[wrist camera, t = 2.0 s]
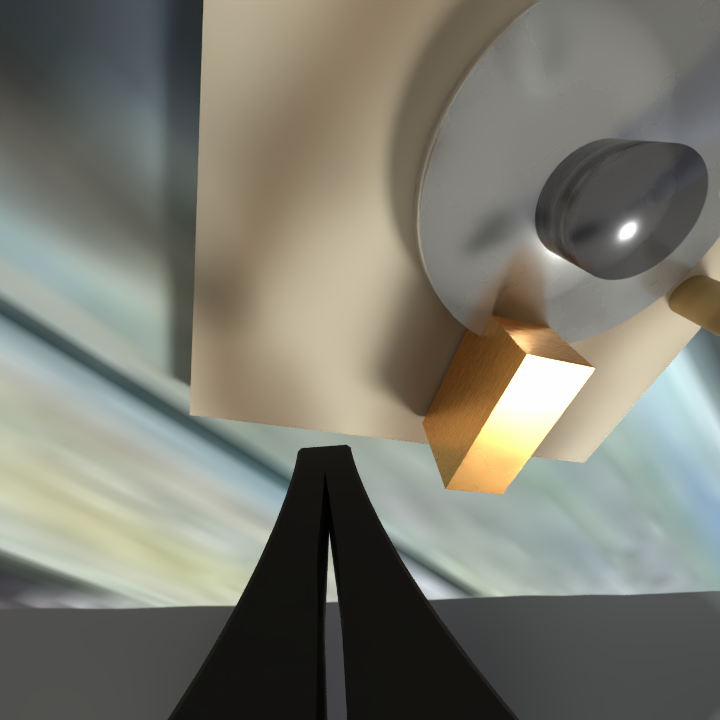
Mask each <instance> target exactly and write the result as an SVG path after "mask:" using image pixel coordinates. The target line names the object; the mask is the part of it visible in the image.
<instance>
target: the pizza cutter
mask: <svg viewBox="0 0 720 720" xmlns="http://www.w3.org/2000/svg"><path fill="white" fill-rule="evenodd" d="M413 227H414V237H415V244H416V248H417V252H418V256H419V260H420V263H421V265H422V268H423V270H424V273H425V275H426V278H427V279H428V281H429V283H430V284H431V286H432V288H433V290H434V291H435V293H436V294H437V296H438V297H439V299H440V300H441V301H442V303H443V304H444V305H445V307H446V308H447V309H448V310H449V312H450V313H451V314H452V315H453V316H454V317H455V318H456V319H457V320H458V321H459V322H460V323H461V324H463V325H464V326H465V327H466V328H468V329H467V331H466V333H465V335H464V338H463V340H462V342H461V344H460V346H459V348H458V350H457V352H456V354H455V356H454V358H453V360H452V362H451V364H450V366H449V369H448V371H447V373H446V375H445V377H444V379H443V381H442V383H441V385H440V387H439V389H438V391H437V393H436V395H435V397H434V400H433V402H432V404H431V406H430V408H429V410H428V412H427V414H426V416H425V418H424V420H423V422H422V424H423V427H424V430H425V432H426V435H427V438H428V441H429V444H430V447H431V449H432V452H433V455H434V458H435V461H436V463H437V466H438V469H439V472H440V475H441V477H442V480H443V483H444V486H445V489H450V490H461V491H472V492H483V493H494V494H503V492H504V491H505V490H506V488H507V487H508V486H509V484H510V483H511V482H512V480H513V479H514V478H515V476H516V475H517V474H518V472H519V471H520V469H521V468H522V467H523V465H524V464H525V463H526V461H527V460H528V459H529V457H530V456H531V455H532V453H533V452H534V451H535V449H536V448H537V447H538V445H539V444H540V442H541V441H542V440H543V438H544V437H545V436H546V434H547V433H548V432H549V430H550V429H551V428H552V426H553V425H554V424H555V422H556V421H557V420H558V418H559V417H560V415H561V414H562V413H563V411H564V410H565V409H566V407H567V406H568V405H569V403H570V402H571V401H572V399H573V398H574V397H575V395H576V394H577V393H578V391H579V390H580V388H581V387H582V386H583V384H584V383H585V382H586V380H587V379H588V378H589V376H590V375H591V374H592V372H593V371H594V370H595V367H594V366H592V365H591V364H590V363H589V362H588V361H587V360H586V359H585V358H583V357H582V356H581V355H580V354H579V353H578V352H577V351H576V350H574V349H573V348H572V347H571V346H570V345H569V344H570V343H575V342H578V341H581V340H584V339H587V338H590V337H593V336H596V335H598V334H600V333H603V332H605V331H607V330H610V329H612V328H614V327H616V326H618V325H619V324H621V323H623V322H625V321H627V320H629V319H630V318H632V317H634V316H635V315H637V314H638V313H640V312H641V311H643V310H645V309H646V308H648V307H649V306H650V305H651V304H653V303H654V302H655V301H657V300H658V299H659V298H661V297H662V296H663V295H665V294H666V293H667V292H668V291H669V290H670V289H672V288H673V287H674V286H675V285H676V284H677V283H678V282H679V281H681V280H682V279H683V278H684V277H685V276H686V275H687V274H688V273H689V272H690V271H691V270H692V268H693V267H694V266H695V265H696V264H697V263H698V262H699V261H700V260H701V259H702V258H703V256H704V255H705V254H706V253H707V252H708V250H709V249H710V248H711V247H712V246H713V245H714V243H715V242H716V241H717V239H718V238H719V236H720V0H536V1H535V2H533V3H531V4H530V5H529V6H527V7H526V8H525V9H523V10H522V11H521V12H520V13H518V14H517V15H516V16H514V17H513V18H512V19H511V20H509V21H508V22H507V23H505V24H504V25H503V26H502V27H501V28H500V29H499V30H498V31H497V32H496V33H495V34H494V35H493V36H492V37H491V38H490V39H489V40H488V41H487V42H486V43H485V44H484V45H483V46H482V48H481V49H480V50H479V51H478V53H477V54H476V55H475V56H474V57H473V59H472V60H471V61H470V62H469V64H468V65H467V66H466V67H465V69H464V70H463V71H462V73H461V74H460V76H459V77H458V79H457V81H456V82H455V84H454V85H453V87H452V88H451V90H450V91H449V93H448V95H447V96H446V98H445V100H444V102H443V104H442V106H441V108H440V110H439V112H438V114H437V116H436V118H435V120H434V122H433V124H432V127H431V130H430V132H429V135H428V138H427V140H426V143H425V145H424V148H423V152H422V156H421V159H420V163H419V167H418V171H417V176H416V183H415V190H414V197H413Z"/></svg>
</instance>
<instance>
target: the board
mask: <svg viewBox="0 0 720 720" xmlns="http://www.w3.org/2000/svg"><path fill="white" fill-rule="evenodd" d="M535 1H536V0H204V3H203V33H202V62H201V92H200V122H199V152H198V182H197V212H196V241H195V271H194V301H193V331H192V361H191V391H190V415H195V416H204V417H212V418H220V419H228V420H236V421H245V422H253V423H261V424H269V425H277V426H286V427H294V428H302V429H310V430H319V431H327V432H335V433H343V434H351V435H360V436H368V437H376V438H384V439H392V440H401V441H409V442H417V443H425V444H429V441H428V438H427V435H426V432H425V430H424V427H423V424H422V422H423V420H424V418H425V416H426V414H427V412H428V410H429V408H430V406H431V404H432V402H433V400H434V397H435V395H436V393H437V391H438V389H439V387H440V385H441V383H442V381H443V379H444V377H445V375H446V373H447V371H448V369H449V366H450V364H451V362H452V360H453V358H454V356H455V354H456V352H457V350H458V348H459V346H460V344H461V342H462V340H463V338H464V335H465V333H466V331H467V329H468V328H466V327H465V326H464V325H463V324H461V323H460V322H459V321H458V320H457V319H456V318H455V317H454V316H453V315H452V314H451V313H450V312H449V310H448V309H447V308H446V307H445V305H444V304H443V303H442V301H441V300H440V299H439V297H438V296H437V294H436V293H435V291H434V290H433V288H432V286H431V284H430V283H429V281H428V279H427V278H426V275H425V273H424V270H423V268H422V265H421V263H420V260H419V256H418V252H417V248H416V244H415V237H414V227H413V197H414V190H415V183H416V176H417V171H418V167H419V163H420V159H421V156H422V152H423V148H424V145H425V143H426V140H427V138H428V135H429V132H430V130H431V127H432V124H433V122H434V120H435V118H436V116H437V114H438V112H439V110H440V108H441V106H442V104H443V102H444V100H445V98H446V96H447V95H448V93H449V91H450V90H451V88H452V87H453V85H454V84H455V82H456V81H457V79H458V77H459V76H460V74H461V73H462V71H463V70H464V69H465V67H466V66H467V65H468V64H469V62H470V61H471V60H472V59H473V57H474V56H475V55H476V54H477V53H478V51H479V50H480V49H481V48H482V46H483V45H484V44H485V43H486V42H487V41H488V40H489V39H490V38H491V37H492V36H493V35H494V34H495V33H496V32H497V31H498V30H499V29H500V28H501V27H502V26H503V25H504V24H505V23H507V22H508V21H509V20H511V19H512V18H513V17H514V16H516V15H517V14H518V13H520V12H521V11H522V10H523V9H525V8H526V7H527V6H529V5H530V4H531V3H533V2H535ZM701 327H703V328H705V329H706V330H708V331H710V332H712V333H714V334H716V335H717V336H719V337H720V236H719V238H718V239H717V241H716V242H715V243H714V245H713V246H712V247H711V248H710V249H709V250H708V252H707V253H706V254H705V255H704V256H703V258H702V259H701V260H700V261H699V262H698V263H697V264H696V265H695V266H694V267H693V268H692V270H691V271H690V272H689V273H688V274H687V275H686V276H685V277H684V278H683V279H682V280H681V281H679V282H678V283H677V284H676V285H675V286H674V287H673V288H672V289H670V290H669V291H668V292H667V293H666V294H665V295H663V296H662V297H661V298H659V299H658V300H657V301H655V302H654V303H653V304H651V305H650V306H649V307H648V308H646V309H645V310H643V311H641V312H640V313H638V314H637V315H635V316H634V317H632V318H630V319H629V320H627V321H625V322H623V323H621V324H619V325H618V326H616V327H614V328H612V329H610V330H607V331H605V332H603V333H600V334H598V335H596V336H593V337H590V338H587V339H584V340H581V341H578V342H575V343H570V344H569V345H570V346H571V347H572V348H573V349H574V350H576V351H577V352H578V353H579V354H580V355H581V356H582V357H583V358H585V359H586V360H587V361H588V362H589V363H590V364H591V365H592V366H594V367H595V370H594V371H593V372H592V374H591V375H590V376H589V378H588V379H587V380H586V382H585V383H584V384H583V386H582V387H581V388H580V390H579V391H578V393H577V394H576V395H575V397H574V398H573V399H572V401H571V402H570V403H569V405H568V406H567V407H566V409H565V410H564V411H563V413H562V414H561V415H560V417H559V418H558V420H557V421H556V422H555V424H554V425H553V426H552V428H551V429H550V430H549V432H548V433H547V434H546V436H545V437H544V438H543V440H542V441H541V442H540V444H539V445H538V447H537V448H536V449H535V451H534V452H533V453H532V455H531V456H532V457H540V458H549V459H557V460H565V461H573V462H581V463H584V462H585V461H586V460H587V459H588V458H589V457H590V455H591V454H592V453H593V452H594V451H595V450H596V448H597V447H598V446H599V445H600V444H601V443H602V442H603V440H604V439H605V438H606V437H607V436H608V435H609V433H610V432H611V431H612V430H613V429H614V428H615V427H616V425H617V424H618V423H619V422H620V421H621V420H622V418H623V417H624V416H625V415H626V414H627V413H628V411H629V410H630V409H631V408H632V407H633V406H634V405H635V403H636V402H637V401H638V400H639V399H640V398H641V396H642V395H643V394H644V393H645V392H646V391H647V389H648V388H649V387H650V386H651V385H652V384H653V383H654V381H655V380H656V379H657V378H658V377H659V376H660V374H661V373H662V372H663V371H664V370H665V369H666V367H667V366H668V365H669V364H670V363H671V362H672V361H673V359H674V358H675V357H676V356H677V355H678V354H679V352H680V351H681V350H682V349H683V348H684V347H685V345H686V344H687V343H688V342H689V341H690V340H691V339H692V337H693V336H694V335H695V334H696V333H697V332H698V330H699V329H700V328H701Z"/></svg>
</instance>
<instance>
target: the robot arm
mask: <svg viewBox="0 0 720 720" xmlns="http://www.w3.org/2000/svg"><path fill="white" fill-rule="evenodd" d="M329 534H330V541H331V549H332V557H333V564H334V572H335V579H336V587H337V595H338V602H339V609H340V617H341V626H342V637H343V652H344V671H345V688H346V704H347V705H346V706H347V720H519V719H518V718H517V716H516V715H515V714H514V713H513V712H512V710H511V709H510V708H509V707H508V706H507V704H506V703H505V702H504V701H503V700H502V698H501V697H500V696H499V695H498V694H497V692H496V691H495V690H494V689H493V687H492V686H491V685H490V683H489V682H488V681H487V680H486V678H485V677H484V676H483V675H482V673H481V672H480V671H479V670H478V668H477V667H476V666H475V665H474V664H473V662H472V661H471V659H470V658H469V657H468V655H467V654H466V653H465V651H464V650H463V649H462V647H461V646H460V645H459V643H458V642H457V640H456V639H455V638H454V636H453V635H452V634H451V633H450V631H449V630H448V629H447V627H446V626H445V624H444V623H443V622H442V620H441V619H440V617H439V616H438V615H437V613H436V612H435V610H434V609H433V607H432V606H431V605H430V603H429V601H428V600H427V599H426V597H425V596H424V594H423V593H422V591H421V590H420V588H419V587H418V585H417V583H416V582H415V580H414V579H413V577H412V576H411V574H410V573H409V571H408V569H407V568H406V566H405V564H404V563H403V561H402V560H401V558H400V556H399V554H398V553H397V551H396V549H395V548H394V546H393V544H392V542H391V540H390V539H389V537H388V535H387V533H386V531H385V530H384V528H383V526H382V524H381V522H380V520H379V518H378V516H377V514H376V512H375V510H374V508H373V506H372V504H371V502H370V500H369V498H368V495H367V493H366V491H365V489H364V486H363V484H362V481H361V479H360V476H359V474H358V471H357V468H356V466H355V463H354V459H353V456H352V452H351V448H350V447H349V446H348V445H337V446H324V447H311V448H302V449H300V450H299V451H298V455H297V460H296V464H295V469H294V472H293V476H292V479H291V482H290V485H289V488H288V491H287V494H286V497H285V500H284V502H283V505H282V508H281V510H280V513H279V516H278V518H277V521H276V523H275V526H274V528H273V530H272V533H271V535H270V537H269V539H268V542H267V544H266V546H265V548H264V551H263V553H262V555H261V557H260V560H259V562H258V564H257V566H256V568H255V570H254V572H253V574H252V576H251V578H250V580H249V582H248V584H247V586H246V588H245V590H244V592H243V594H242V596H241V598H240V600H239V601H238V603H237V605H236V607H235V609H234V611H233V613H232V614H231V616H230V618H229V620H228V621H227V623H226V625H225V627H224V629H223V631H222V632H221V634H220V636H219V637H218V639H217V641H216V643H215V644H214V646H213V648H212V650H211V651H210V653H209V655H208V656H207V658H206V660H205V661H204V663H203V665H202V666H201V668H200V670H199V672H198V673H197V674H196V676H195V678H194V679H193V681H192V682H191V684H190V686H189V687H188V689H187V690H186V692H185V694H184V695H183V696H182V698H181V700H180V701H179V703H178V704H177V706H176V708H175V709H174V711H173V712H172V714H171V715H170V717H169V719H168V720H327V687H326V656H325V616H326V593H327V570H328V546H329Z"/></svg>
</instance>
